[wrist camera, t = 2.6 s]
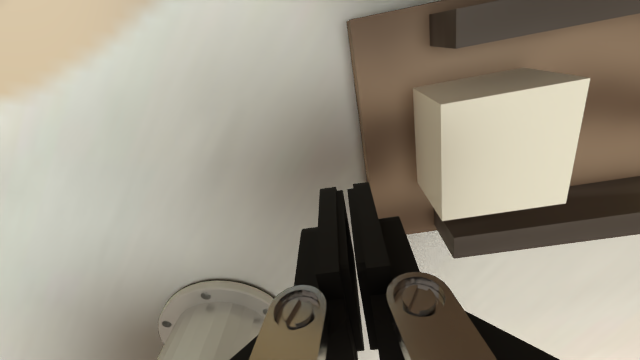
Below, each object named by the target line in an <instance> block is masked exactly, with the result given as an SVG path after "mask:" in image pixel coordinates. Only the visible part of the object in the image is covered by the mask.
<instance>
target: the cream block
mask: <svg viewBox="0 0 640 360" xmlns="http://www.w3.org/2000/svg"><path fill="white" fill-rule="evenodd" d="M589 83H590V78H587V77H581V76H574V75H568V74H562V73H556V72H549V71H543V70H537V69H531V68H519V69H513V70H508V71H502V72H497V73H492V74H486V75H481V76H475V77H470V78H464V79H459V80H454V81H448V82H443V83H437V84H432V85H426V86H421V87H416V88H413V103H414V124H415V144H416V164H417V182H418V184H419V186H420V187H421V189H422V190H423V192H424V194H425V195H426V197H427V198H428V200H429V201H430V203H431V205H432V206H433V208H434V209H435V211H436V212H437V214H438V216H439V217H440V219H441V220H442V221H446V220H453V219H460V218H467V217H474V216H481V215H488V214H495V213H502V212H509V211H516V210H523V209H530V208H537V207H544V206H551V205H558V204H565V203H566V201H567V196H568V190H569V185H570V180H571V175H572V170H573V165H574V160H575V155H576V149H577V144H578V139H579V134H580V129H581V124H582V119H583V113H584V108H585V103H586V98H587V93H588V88H589Z"/></svg>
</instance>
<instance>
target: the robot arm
mask: <svg viewBox="0 0 640 360" xmlns="http://www.w3.org/2000/svg"><path fill="white" fill-rule="evenodd" d="M353 187H354V188H353V189H347V190H348V199H349V207H350V216H351V225H352V234H353V242H354V251H355V260H356V267H357V274H358V280H359V286H360V292H361V298H362V304H363V310H364V315H365V321H366V327H367V333H368V339H369V344H370V350H375V349H378V350H379V357H380V360H559V359H557V358H555V357H553V356H551V355H550V354H548V353H546V352H544V351H542V350H540V349H538V348H536V347H534V346H532V345H530V344H528V343H526V342H524V341H522V340H520V339H518V338H517V337H515V336H513V335H511V334H509V333H507V332H505V331H503V330H501V329H499V328H497V327H495V326H493V325H491V324H489V323H487V322H485V321H484V320H482V319H480V318H478V317H476V316H474V315H472V314H470V313H468V312H466V311H464V309H463V308H462V307H461V305H460V304H459V302H458V301H457V299H456V298H455V296H454V295H453V293H452V292H451V290H450V289H449V287H448V286H447V285H446V284H445V283H444V282H443V281H442V280H440V279H438V278H437V277H435V276H433V275H430V274H427V273H422V272H420V271H419V269H418V266H417V263H416V260H415V258H414V255H413V252H412V250H411V247H410V244H409V241H408V239H407V236H406V233H405V231H404V228H403V225H402V223H401V220H400V218H399V216H395V217H388V218H381V219H378V215H377V211H376V208H375V204H374V200H373V196H372V192H371V188H370V184H369V182H365V183H358V184H353ZM158 332H159V335H160V338H161V341H162V343H163V344H164V346H163V348H162V350H161V352H160V354H159V356H158V358H157V360H358V356H357V351H364V342H363V333H362V324H361V315H360V306H359V297H358V288H357V279H356V270H355V261H354V253H353V247H352V241H351V236H350V230H349V224H348V218H347V213H346V207H345V201H344V195H343V190H340V191H337V190H336V187H332V188H325V189H320V198H319V217H318V227H315V228H307V229H302V231H301V237H300V245H299V252H298V260H297V267H296V275H295V282H294V286H293V287H291V288H288V289H286V290H284V291H283V292H281V293H280V294H278V295H277V296H276V297H275V298H272V297H271V296H270V295H268V294H267V293H265V292H263V291H261V290H259V289H257V288H254V287H251V286H248V285H246V284H242V283H237V282H231V281H206V282H200V283H197V284H193V285H190V286H188V287H186V288H183V289H181V290H180V291H178V292H177V293H176V294H174V295H173V296H172V297H171V298H170V300H169V301H168V302H167V303H166V305H165V307H164V309H163V311H162V312H161V314H160V317H159V320H158Z"/></svg>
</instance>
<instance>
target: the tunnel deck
mask: <svg viewBox="0 0 640 360" xmlns="http://www.w3.org/2000/svg"><path fill="white" fill-rule="evenodd" d="M347 29H348V37H349V44H350V52H351V60H352V67H353V75H354V83H355V91H356V98H357V106H358V114H359V121H360V129H361V137H362V144H363V152H364V160H365V168H366V175H367V182H369V184H370V188H371V192H372V196H373V200H374V204H375V208H376V211H377V215H378V219H381V218H388V217H395V216H399V218H400V220H401V223H402V225H403V228H404V231H405V233H406V234H413V233H421V232H428V231H435V230H438V232H439V234H440V235H441V237H442V239H443V241H444V242H445V244H446V246H447V247H448V249H449V251H450V253H451V254H452V256H453V258H461V257H469V256H476V255H484V254H492V253H499V252H507V251H514V250H522V249H530V248H537V247H545V246H552V245H560V244H568V243H575V242H583V241H590V240H598V239H606V238H613V237H621V236H628V235H636V234H640V0H442V1H438V2H433V3H428V4H423V5H418V6H414V7H409V8H404V9H399V10H394V11H390V12H385V13H380V14H375V15H370V16H366V17H361V18H356V19H351V20H349V21H347ZM519 68H531V69H537V70H543V71H549V72H556V73H562V74H568V75H574V76H581V77H587V78H590V83H589V88H588V93H587V98H586V103H585V108H584V113H583V119H582V124H581V129H580V134H579V139H578V144H577V149H576V155H575V160H574V165H573V170H572V175H571V180H570V185H569V190H568V196H567V201H566V203H565V204H558V205H551V206H544V207H537V208H530V209H523V210H516V211H509V212H502V213H495V214H488V215H481V216H474V217H467V218H460V219H453V220H446V221H442V220H441V219H440V217H439V216H438V214H437V212H436V211H435V209H434V208H433V206H432V205H431V203H430V201H429V200H428V198H427V197H426V195H425V194H424V192H423V190H422V189H421V187H420V186H419V184H418V182H417V164H416V144H415V124H414V103H413V88H416V87H421V86H426V85H432V84H437V83H443V82H448V81H454V80H459V79H464V78H470V77H475V76H481V75H486V74H492V73H497V72H502V71H508V70H513V69H519Z"/></svg>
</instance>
